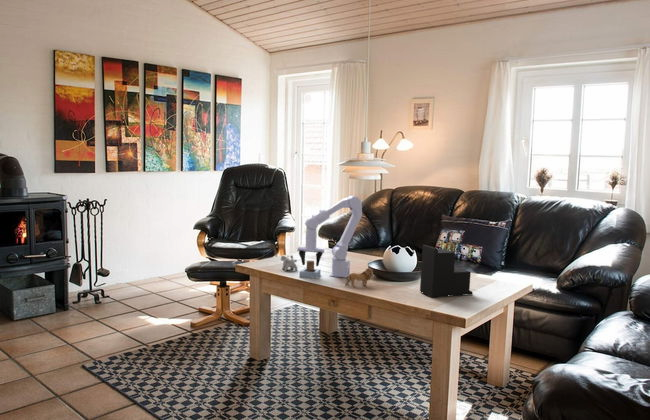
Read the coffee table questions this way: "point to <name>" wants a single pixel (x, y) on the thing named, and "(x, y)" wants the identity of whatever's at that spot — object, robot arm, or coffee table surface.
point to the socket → (309, 273)
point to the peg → (310, 266)
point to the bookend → (442, 274)
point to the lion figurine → (360, 277)
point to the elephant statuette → (288, 262)
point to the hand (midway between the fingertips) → (310, 265)
